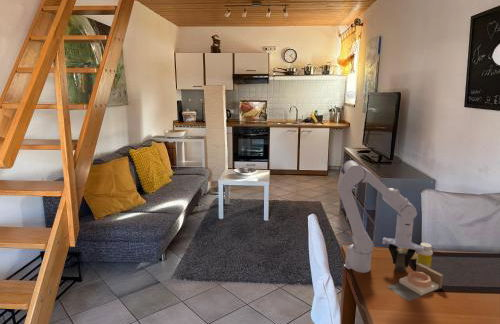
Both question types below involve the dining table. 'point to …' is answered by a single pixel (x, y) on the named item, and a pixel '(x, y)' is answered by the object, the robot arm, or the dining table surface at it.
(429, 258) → the supplement bottle
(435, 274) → the l-shaped bracket
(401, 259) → the dowel
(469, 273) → the dining table surface
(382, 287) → the dining table surface
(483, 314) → the dining table surface
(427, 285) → the square socket base
